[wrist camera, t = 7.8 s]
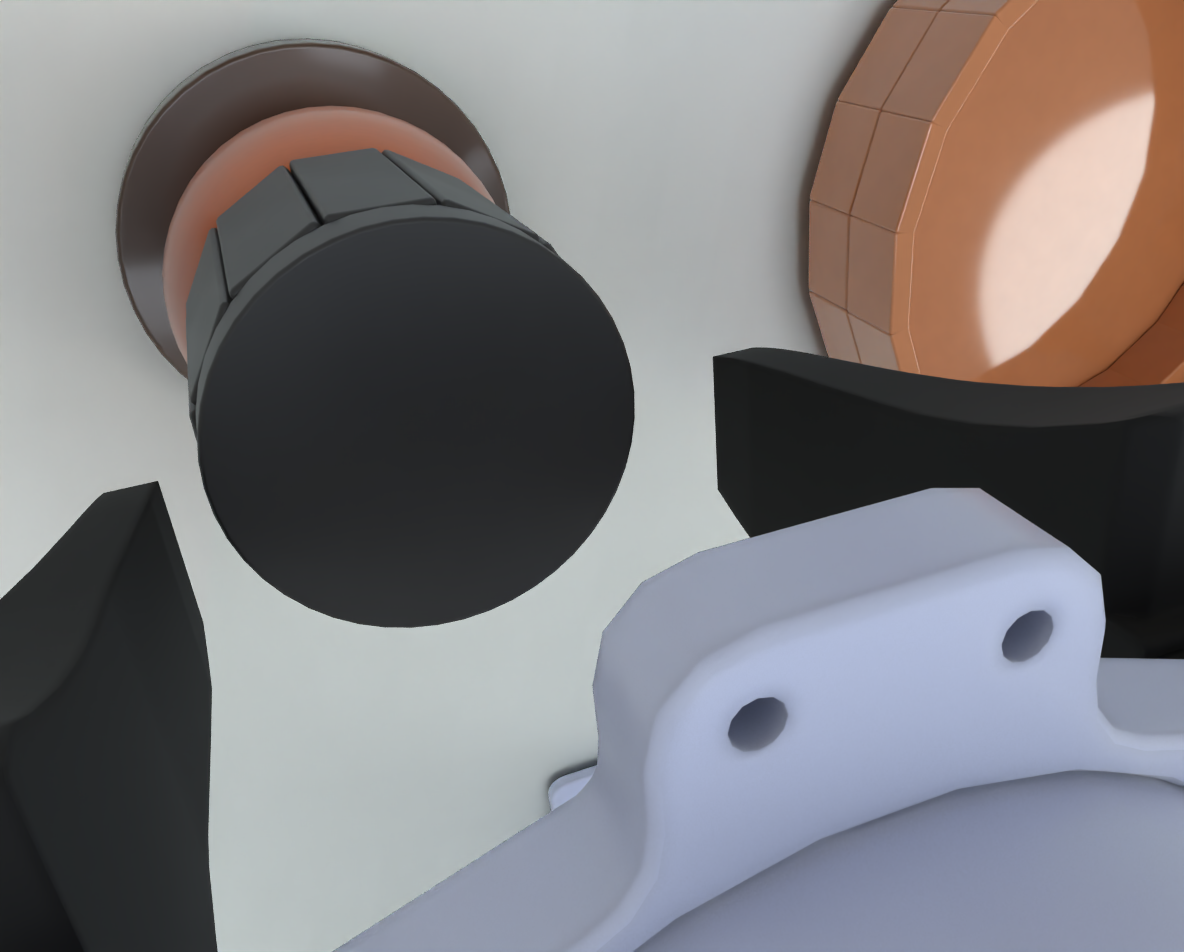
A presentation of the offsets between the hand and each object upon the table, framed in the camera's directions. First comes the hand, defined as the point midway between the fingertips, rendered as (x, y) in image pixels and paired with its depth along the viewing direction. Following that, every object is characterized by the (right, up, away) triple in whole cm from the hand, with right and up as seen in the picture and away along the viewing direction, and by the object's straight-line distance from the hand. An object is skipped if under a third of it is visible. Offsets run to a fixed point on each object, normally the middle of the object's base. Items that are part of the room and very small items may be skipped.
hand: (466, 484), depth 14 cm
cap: (-2, +3, +3) cm, 5 cm away
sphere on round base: (-4, +5, +8) cm, 10 cm away
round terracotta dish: (+13, +7, +14) cm, 20 cm away
